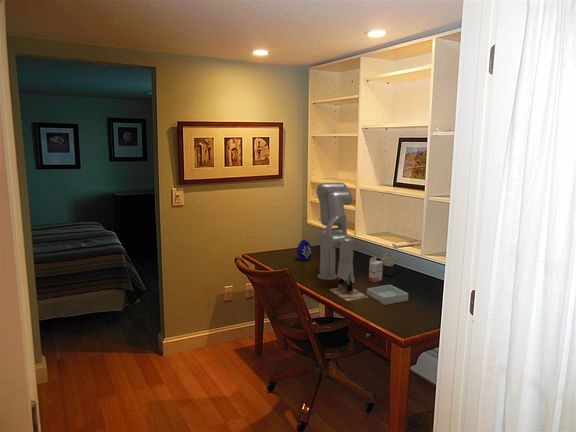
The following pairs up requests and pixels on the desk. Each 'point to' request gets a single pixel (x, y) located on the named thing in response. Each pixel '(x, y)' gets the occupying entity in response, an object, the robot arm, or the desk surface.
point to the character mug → (388, 263)
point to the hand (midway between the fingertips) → (345, 288)
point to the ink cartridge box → (375, 270)
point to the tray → (387, 294)
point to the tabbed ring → (344, 288)
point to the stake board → (349, 294)
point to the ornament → (304, 250)
